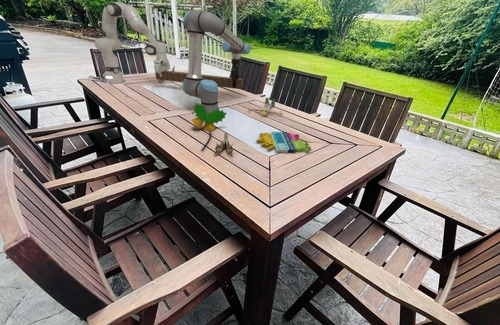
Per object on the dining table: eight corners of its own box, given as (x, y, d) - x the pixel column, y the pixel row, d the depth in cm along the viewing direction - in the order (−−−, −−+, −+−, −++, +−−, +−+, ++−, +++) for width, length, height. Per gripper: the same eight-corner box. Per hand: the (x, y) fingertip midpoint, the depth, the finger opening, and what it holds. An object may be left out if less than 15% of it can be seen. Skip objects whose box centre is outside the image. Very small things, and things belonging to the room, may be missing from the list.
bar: (242, 87, 228) (243, 78, 224) (241, 89, 223) (241, 80, 220) (159, 78, 244) (158, 69, 240) (156, 79, 239) (155, 70, 235)
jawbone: (234, 135, 144) (233, 125, 135) (233, 160, 138) (232, 151, 129) (217, 135, 144) (216, 125, 135) (216, 160, 138) (214, 150, 129)
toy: (287, 99, 210) (283, 109, 184) (286, 108, 213) (282, 119, 187) (254, 95, 215) (245, 104, 189) (253, 104, 218) (244, 114, 192)
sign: (313, 150, 142) (258, 149, 139) (312, 153, 143) (258, 152, 140) (301, 132, 164) (254, 130, 161) (301, 134, 165) (254, 133, 162)
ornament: (218, 133, 171) (224, 110, 169) (221, 134, 163) (227, 111, 161) (186, 125, 162) (192, 101, 160) (189, 126, 155) (195, 101, 153)
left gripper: (165, 58, 241) (166, 74, 248) (152, 61, 224) (154, 77, 231) (171, 59, 240) (172, 74, 247) (158, 62, 223) (160, 78, 229)
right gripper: (234, 56, 224) (234, 84, 235) (228, 59, 208) (227, 88, 219) (243, 57, 222) (242, 85, 234) (237, 60, 207) (236, 90, 218)
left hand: (163, 76), depth 239 cm, fingers closed on bar, 5 cm apart
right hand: (235, 87), depth 227 cm, fingers closed on bar, 5 cm apart
